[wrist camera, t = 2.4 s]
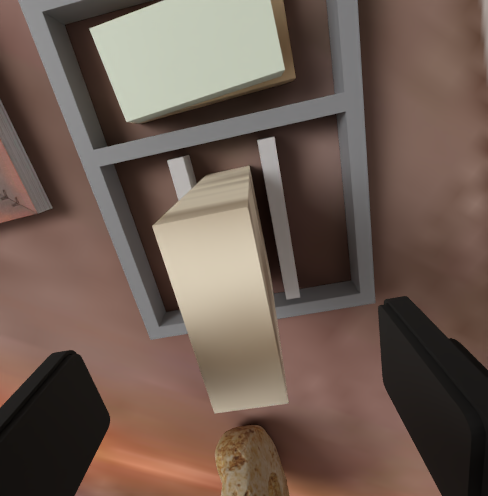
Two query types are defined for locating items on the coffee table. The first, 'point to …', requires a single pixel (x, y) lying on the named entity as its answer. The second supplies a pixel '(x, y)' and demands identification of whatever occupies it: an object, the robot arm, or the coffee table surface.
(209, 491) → the coffee table surface
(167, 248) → the birch board
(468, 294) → the coffee table surface
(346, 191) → the rack
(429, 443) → the robot arm
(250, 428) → the tan rounded piece
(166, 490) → the coffee table surface
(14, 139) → the picture frame
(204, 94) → the upper offcut
